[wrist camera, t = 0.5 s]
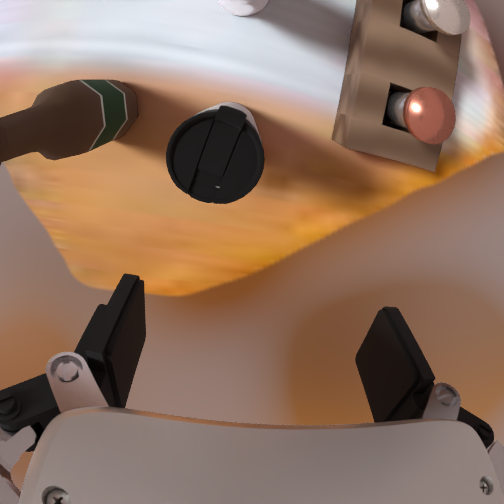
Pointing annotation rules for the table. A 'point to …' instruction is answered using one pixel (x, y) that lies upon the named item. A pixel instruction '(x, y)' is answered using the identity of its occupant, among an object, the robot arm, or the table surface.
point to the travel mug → (216, 154)
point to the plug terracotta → (422, 113)
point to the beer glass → (242, 6)
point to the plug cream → (435, 16)
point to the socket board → (390, 81)
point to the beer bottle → (69, 120)
